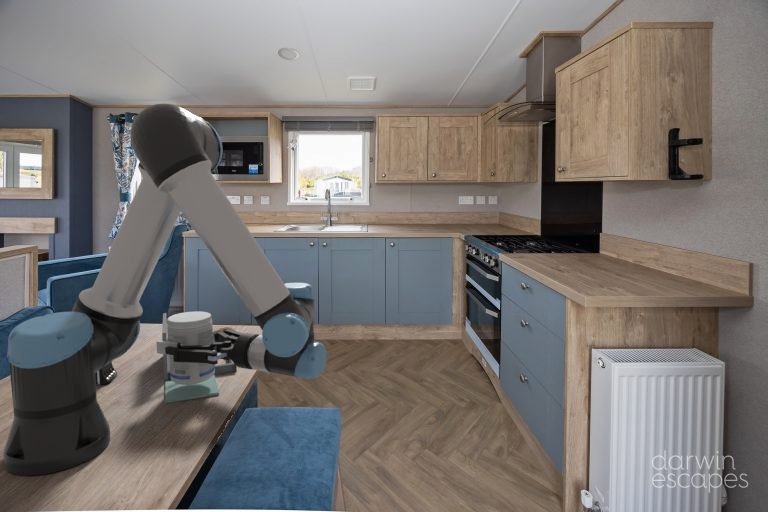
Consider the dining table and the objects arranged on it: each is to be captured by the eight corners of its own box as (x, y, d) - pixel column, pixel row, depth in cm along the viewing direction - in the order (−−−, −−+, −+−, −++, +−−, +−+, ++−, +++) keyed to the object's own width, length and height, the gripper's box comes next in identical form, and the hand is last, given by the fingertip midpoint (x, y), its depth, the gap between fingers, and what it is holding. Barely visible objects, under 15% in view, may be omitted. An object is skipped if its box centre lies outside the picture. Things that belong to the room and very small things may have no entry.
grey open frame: (164, 381, 110) (162, 333, 108) (165, 354, 128) (163, 313, 126) (236, 371, 117) (235, 326, 116) (227, 347, 135) (226, 308, 133)
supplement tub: (210, 367, 112) (207, 309, 110) (219, 380, 104) (217, 317, 102) (166, 375, 107) (163, 314, 105) (173, 389, 99) (170, 323, 97)
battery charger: (112, 385, 107) (109, 338, 106) (94, 386, 106) (91, 339, 105) (122, 373, 114) (119, 329, 112) (105, 374, 113) (102, 330, 112)
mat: (165, 403, 98) (165, 400, 98) (165, 384, 108) (165, 381, 108) (218, 394, 103) (218, 392, 103) (214, 377, 113) (214, 374, 113)
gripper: (223, 388, 88) (136, 372, 96) (285, 352, 109) (209, 341, 117) (221, 351, 87) (134, 338, 95) (284, 322, 108) (208, 313, 116)
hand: (175, 340), depth 106 cm, fingers closed on supplement tub, 9 cm apart
